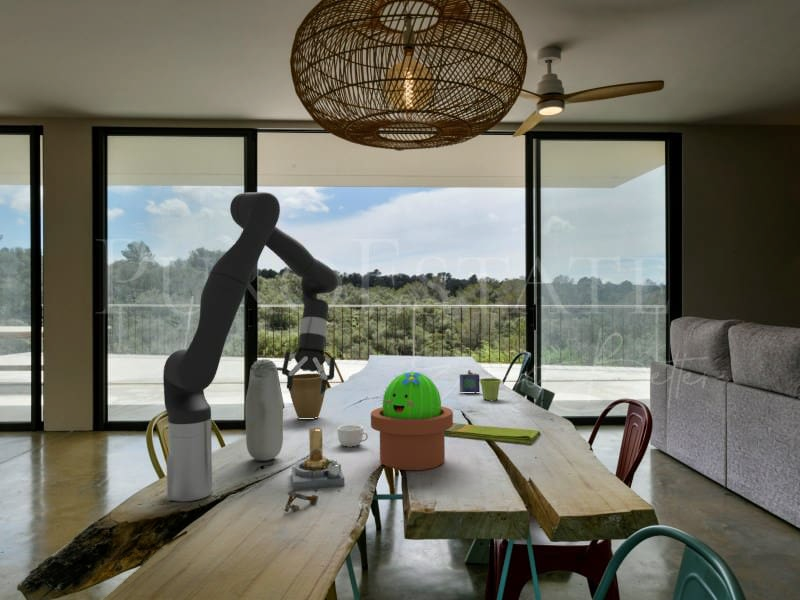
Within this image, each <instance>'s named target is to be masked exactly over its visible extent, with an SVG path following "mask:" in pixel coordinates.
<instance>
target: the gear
mask: <svg viewBox="0 0 800 600" xmlns="http://www.w3.org/2000/svg"><path fill="white" fill-rule="evenodd" d="M308 431H309V433H308V434H309V435H308V436H309V456H308V457H305V458H306V459H304V460H303V461H304V470H309V471H317V470H325V469H328V459H329V457H328V458H327V457H326V456H323V455H324V454H323V452H324V451H323V447H324V446H323V429H322V428H320V427H313V428H310V429H309V430H308Z"/></svg>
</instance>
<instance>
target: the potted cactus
mask: <svg viewBox="0 0 800 600" xmlns="http://www.w3.org/2000/svg"><path fill="white" fill-rule="evenodd" d="M421 372H422V371H419V372H415V371H410V372H409V371H408V372H403V373H401V374H400V375H398V376H395V378H394V379H393V380H391V382H390V383H388V386H386V388H385V390H382V391H383V393H384V394H383V398H381V400H382V399H383V400H382V402H381V405H382V406H381V407H378V408H376V409H373V410H372V411H371V412H370V428H372V430H375V431H377V432H379V461H380V463H381V464H382V465H383V466H385V467H387V468H391V469H395V470H401V471H402V470H403V471H424V470H425V471H426V470H430V469H435V468H436V467H437V468H438V467H439V466H441V465H442V464H443V463H444V462H445V460H446V459H445V456H446V455H445V452H446V451H445V449H446V447H445V443H446V442H445V436H444V431H445V430H447V429H449V428H451V427H452V425H453V423H454V413H453V412H454V411H453V410H452V409H451V408H448V407H445V406H442V400H441V395H440V391H439V390H441V389H438V387H437V386H436V384H435V383H434V382H433V381H432V380H433V379H432V378H430V376H428V374H424V373H421Z"/></svg>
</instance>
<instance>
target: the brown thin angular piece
mask: <svg viewBox="0 0 800 600" xmlns="http://www.w3.org/2000/svg"><path fill="white" fill-rule="evenodd" d="M286 494H287V495H288V500H287V502H286V503H285V506H284V507H285V509H284V512H286V513H288V512H289V510H292V511H298V510H300V506H299V505H298V504H293V503H292V502H293V501H294V500H296V499H298V500H299V499H300V500H304V501H309V503H310V504H313V505H317V503H318V500H319V495H316V494H312V495H306V494H302V493H299V492H298V493H297V492H296V490H293V489H291V490H289V491H287V493H286Z"/></svg>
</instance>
